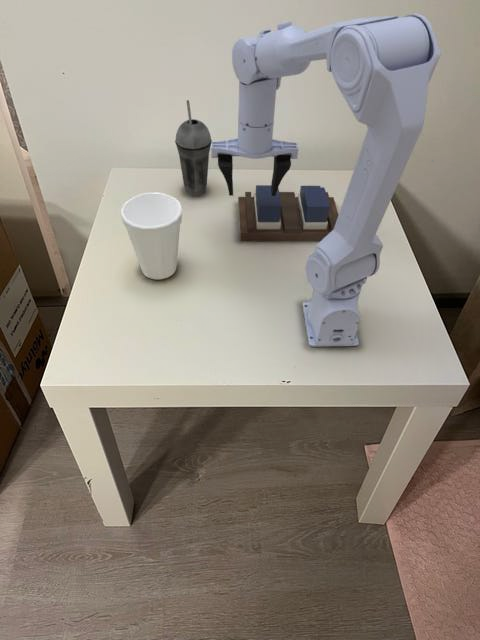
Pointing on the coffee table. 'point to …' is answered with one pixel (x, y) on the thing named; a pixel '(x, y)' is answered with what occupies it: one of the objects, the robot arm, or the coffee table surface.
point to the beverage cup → (193, 154)
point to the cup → (154, 231)
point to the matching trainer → (313, 207)
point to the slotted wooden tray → (282, 221)
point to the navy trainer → (267, 208)
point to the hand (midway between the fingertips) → (252, 192)
